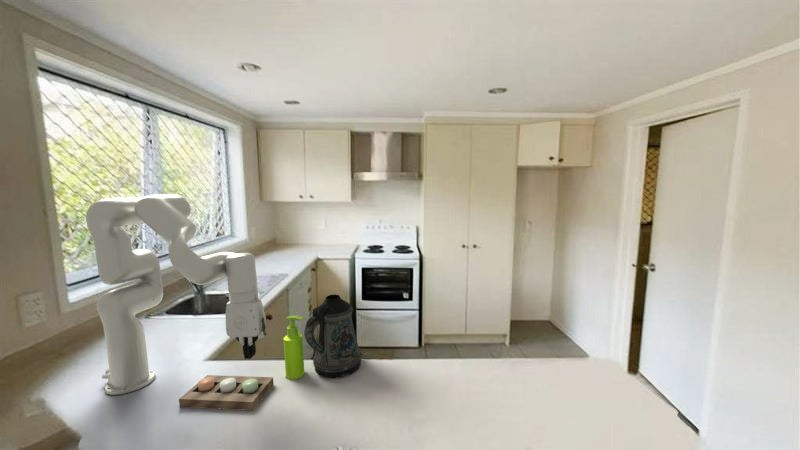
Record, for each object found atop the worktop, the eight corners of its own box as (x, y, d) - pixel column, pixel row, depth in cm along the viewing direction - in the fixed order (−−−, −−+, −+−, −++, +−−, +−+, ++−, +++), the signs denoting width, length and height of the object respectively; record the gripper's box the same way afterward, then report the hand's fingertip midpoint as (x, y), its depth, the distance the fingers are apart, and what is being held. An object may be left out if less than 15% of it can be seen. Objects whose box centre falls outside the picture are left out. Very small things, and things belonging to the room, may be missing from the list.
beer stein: (367, 355, 120) (365, 289, 117) (350, 387, 101) (347, 308, 98) (325, 352, 123) (321, 287, 120) (300, 382, 104) (296, 306, 101)
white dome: (217, 393, 96) (216, 385, 95) (226, 385, 100) (225, 377, 100) (230, 394, 95) (230, 386, 95) (239, 385, 100) (238, 378, 99)
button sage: (239, 394, 95) (239, 386, 95) (247, 386, 99) (247, 378, 99) (253, 395, 95) (253, 387, 94) (261, 386, 99) (260, 378, 99)
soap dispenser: (301, 380, 105) (298, 320, 102) (282, 378, 106) (278, 319, 104) (310, 370, 110) (307, 313, 108) (291, 368, 112) (288, 312, 110)
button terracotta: (195, 393, 96) (194, 385, 96) (204, 384, 101) (204, 376, 100) (208, 393, 96) (207, 385, 96) (217, 385, 100) (217, 377, 100)
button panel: (179, 407, 93) (178, 398, 93) (208, 382, 105) (207, 375, 105) (253, 410, 91) (252, 402, 91) (273, 384, 103) (273, 377, 102)
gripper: (210, 300, 91) (218, 363, 93) (262, 300, 89) (268, 363, 91) (227, 292, 98) (233, 350, 100) (274, 291, 97) (280, 350, 99)
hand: (250, 356), depth 96 cm, fingers closed
